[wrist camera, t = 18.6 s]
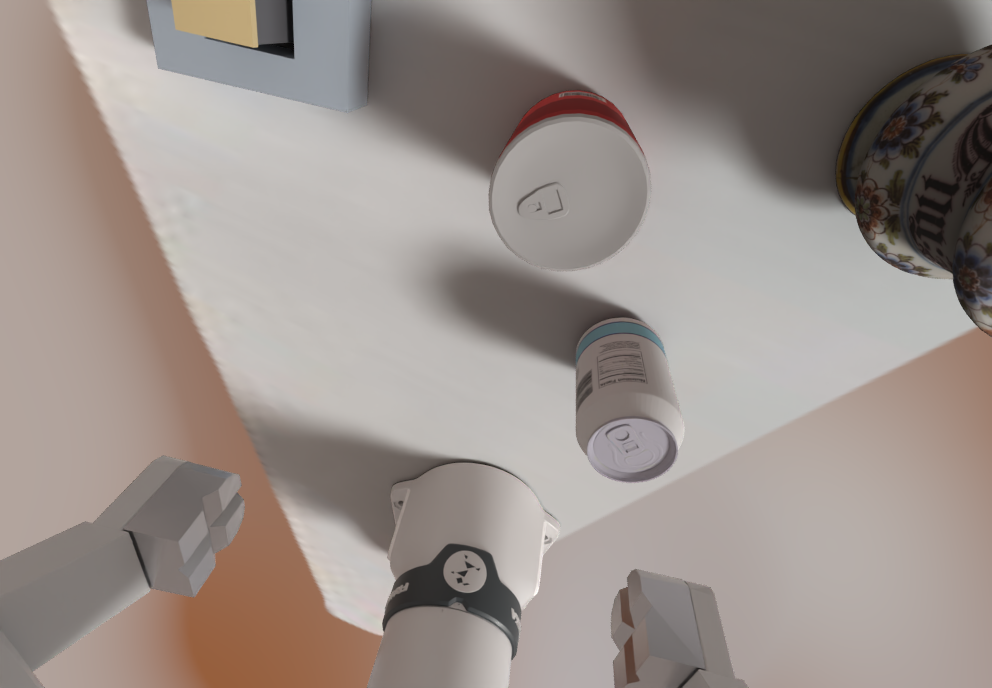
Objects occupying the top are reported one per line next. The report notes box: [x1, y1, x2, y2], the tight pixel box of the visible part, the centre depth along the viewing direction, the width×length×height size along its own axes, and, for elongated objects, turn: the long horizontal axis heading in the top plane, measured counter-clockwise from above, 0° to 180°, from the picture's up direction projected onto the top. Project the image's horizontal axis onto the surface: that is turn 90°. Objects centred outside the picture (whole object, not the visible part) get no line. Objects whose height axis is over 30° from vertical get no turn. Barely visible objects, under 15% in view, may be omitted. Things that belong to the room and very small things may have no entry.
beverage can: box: [576, 318, 685, 483], centre depth 36 cm, size 7×7×12 cm
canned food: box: [489, 90, 651, 271], centre depth 29 cm, size 8×8×11 cm
